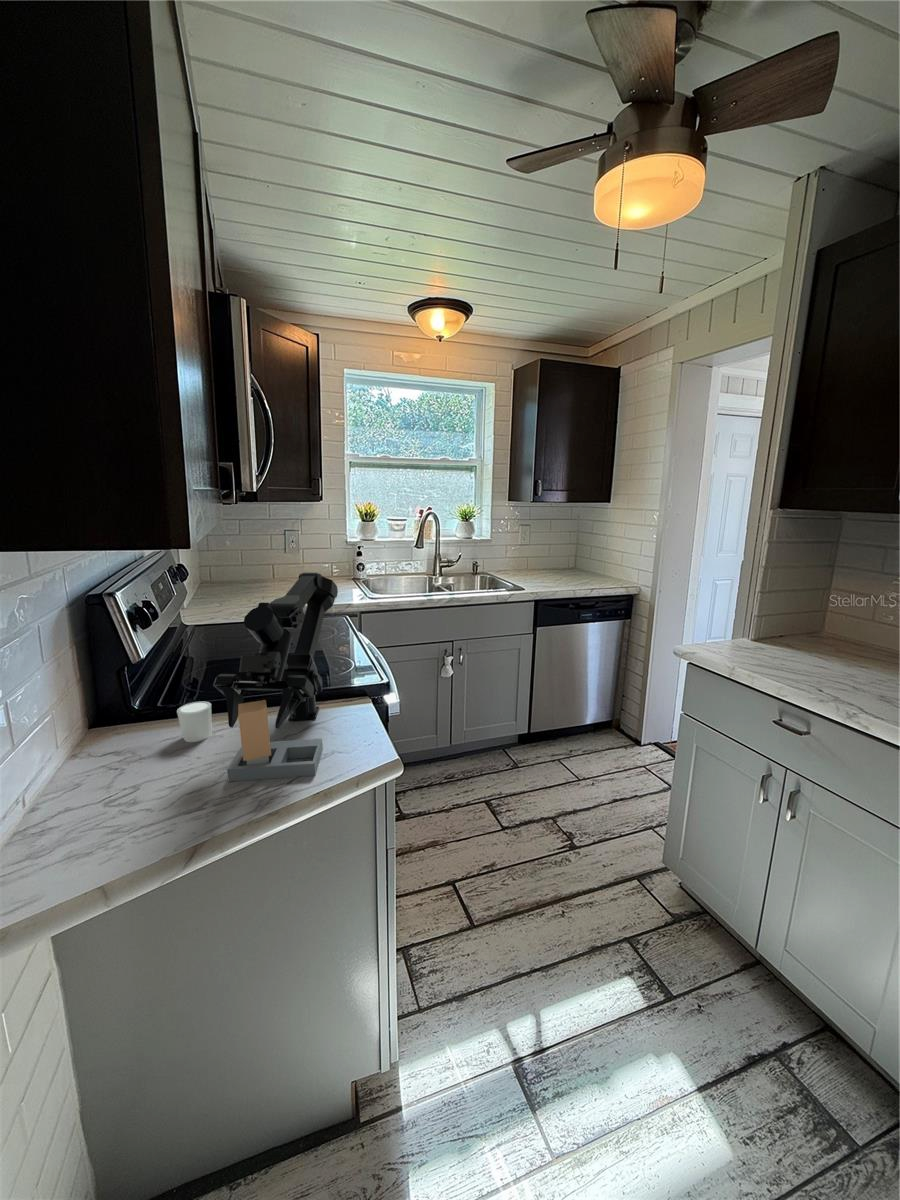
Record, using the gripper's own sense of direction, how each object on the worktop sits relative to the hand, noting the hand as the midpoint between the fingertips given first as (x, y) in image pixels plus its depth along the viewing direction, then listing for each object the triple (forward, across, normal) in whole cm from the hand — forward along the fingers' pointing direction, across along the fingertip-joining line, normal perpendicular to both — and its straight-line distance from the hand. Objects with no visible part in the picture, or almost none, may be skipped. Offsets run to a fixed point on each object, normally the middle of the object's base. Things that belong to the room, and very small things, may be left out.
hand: (253, 727), depth 93 cm
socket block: (+5, +3, +8) cm, 10 cm away
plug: (+6, 0, +7) cm, 9 cm away
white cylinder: (-2, -20, +16) cm, 26 cm away
